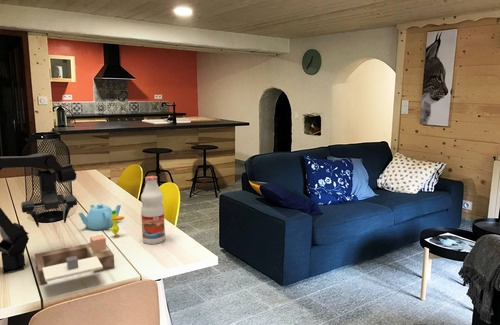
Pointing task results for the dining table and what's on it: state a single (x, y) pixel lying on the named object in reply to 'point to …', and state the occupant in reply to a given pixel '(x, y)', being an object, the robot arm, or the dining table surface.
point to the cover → (71, 268)
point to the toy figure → (115, 223)
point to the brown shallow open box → (79, 251)
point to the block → (98, 243)
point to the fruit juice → (152, 212)
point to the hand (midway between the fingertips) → (51, 224)
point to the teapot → (99, 217)
